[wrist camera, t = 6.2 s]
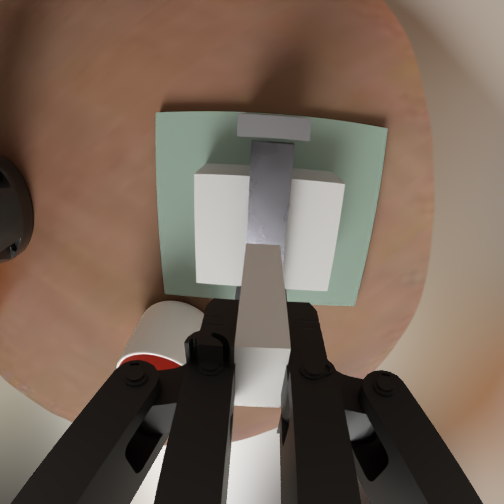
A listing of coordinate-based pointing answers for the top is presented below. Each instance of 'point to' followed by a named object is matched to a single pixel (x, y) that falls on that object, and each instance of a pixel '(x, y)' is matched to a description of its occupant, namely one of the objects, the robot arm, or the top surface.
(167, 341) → the cup
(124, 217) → the top surface
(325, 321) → the top surface
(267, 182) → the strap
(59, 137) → the top surface
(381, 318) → the top surface
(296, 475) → the robot arm
